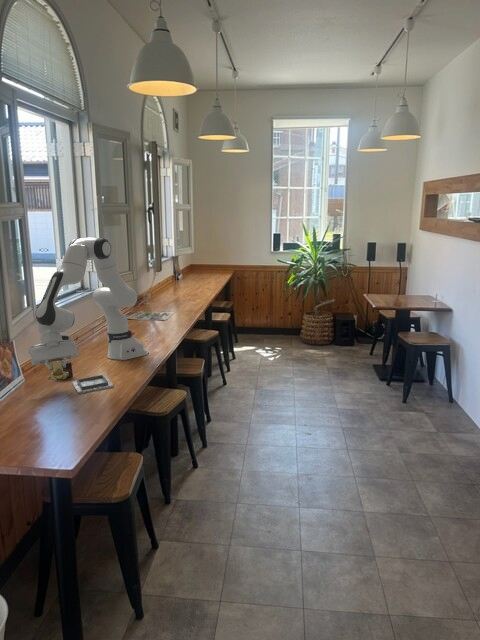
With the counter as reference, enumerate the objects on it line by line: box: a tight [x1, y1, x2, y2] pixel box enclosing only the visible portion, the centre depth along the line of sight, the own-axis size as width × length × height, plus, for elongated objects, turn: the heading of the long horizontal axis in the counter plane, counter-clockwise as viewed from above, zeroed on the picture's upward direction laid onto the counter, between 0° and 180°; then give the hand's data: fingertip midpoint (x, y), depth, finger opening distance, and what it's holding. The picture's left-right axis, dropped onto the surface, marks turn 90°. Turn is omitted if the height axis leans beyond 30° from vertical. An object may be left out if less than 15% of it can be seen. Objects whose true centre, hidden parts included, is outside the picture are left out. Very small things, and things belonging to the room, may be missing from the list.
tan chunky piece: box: [47, 359, 69, 382], centre depth 220 cm, size 9×8×8 cm
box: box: [62, 360, 74, 379], centre depth 239 cm, size 6×6×7 cm
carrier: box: [71, 374, 115, 395], centre depth 227 cm, size 16×16×2 cm
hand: (57, 368), depth 219 cm, fingers closed on tan chunky piece, 4 cm apart
